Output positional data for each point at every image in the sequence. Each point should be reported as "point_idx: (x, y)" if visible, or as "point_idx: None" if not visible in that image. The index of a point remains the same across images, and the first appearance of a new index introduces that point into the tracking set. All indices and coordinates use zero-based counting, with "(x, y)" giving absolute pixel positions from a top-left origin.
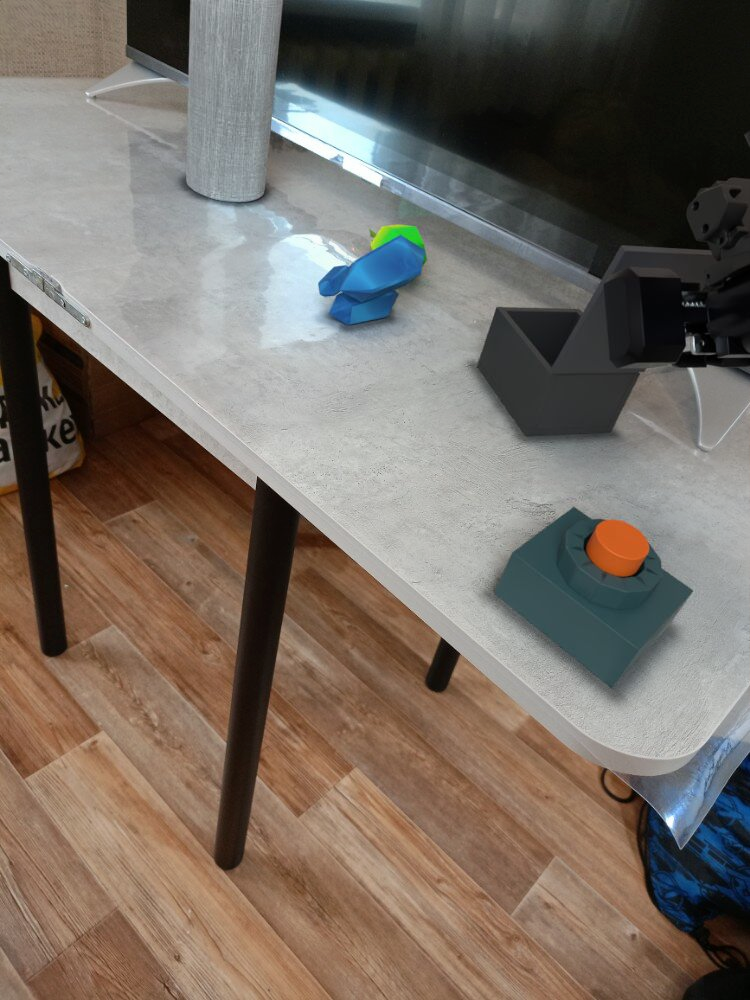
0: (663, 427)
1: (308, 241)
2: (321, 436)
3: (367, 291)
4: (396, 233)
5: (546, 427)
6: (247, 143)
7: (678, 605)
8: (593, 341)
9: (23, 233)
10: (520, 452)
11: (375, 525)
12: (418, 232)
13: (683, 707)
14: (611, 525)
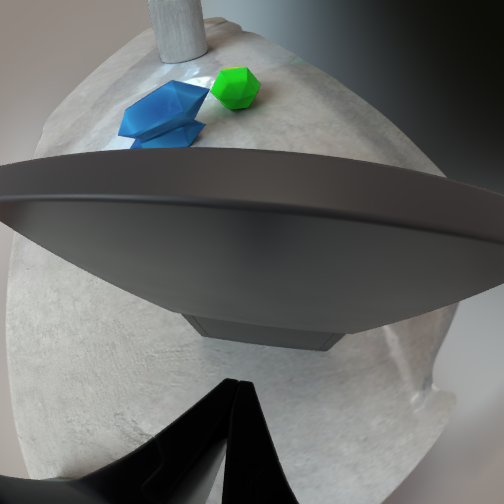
0: (405, 349)
1: (197, 81)
2: (38, 282)
3: (131, 135)
4: (222, 74)
5: (223, 337)
6: (176, 31)
7: None
8: (187, 307)
9: (59, 108)
10: (176, 358)
11: (19, 381)
12: (246, 71)
13: None
14: None
